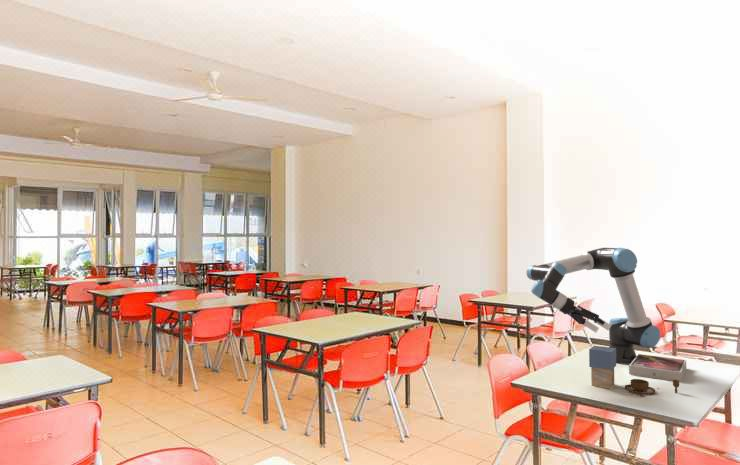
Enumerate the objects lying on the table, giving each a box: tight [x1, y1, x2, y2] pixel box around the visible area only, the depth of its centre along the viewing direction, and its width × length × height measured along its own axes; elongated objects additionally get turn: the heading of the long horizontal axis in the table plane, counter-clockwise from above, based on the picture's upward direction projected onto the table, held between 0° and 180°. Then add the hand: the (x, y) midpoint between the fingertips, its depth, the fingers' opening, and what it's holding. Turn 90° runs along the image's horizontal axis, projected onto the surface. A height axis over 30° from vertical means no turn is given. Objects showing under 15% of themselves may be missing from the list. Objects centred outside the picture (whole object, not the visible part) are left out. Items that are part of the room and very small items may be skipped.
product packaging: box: [628, 353, 687, 383], centre depth 250 cm, size 22×28×5 cm
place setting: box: [624, 378, 680, 398], centre depth 217 cm, size 18×20×6 cm
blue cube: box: [588, 345, 617, 370], centre depth 228 cm, size 9×9×8 cm
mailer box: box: [590, 367, 615, 390], centre depth 228 cm, size 8×8×16 cm
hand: (603, 329), depth 234 cm, fingers open, 13 cm apart
